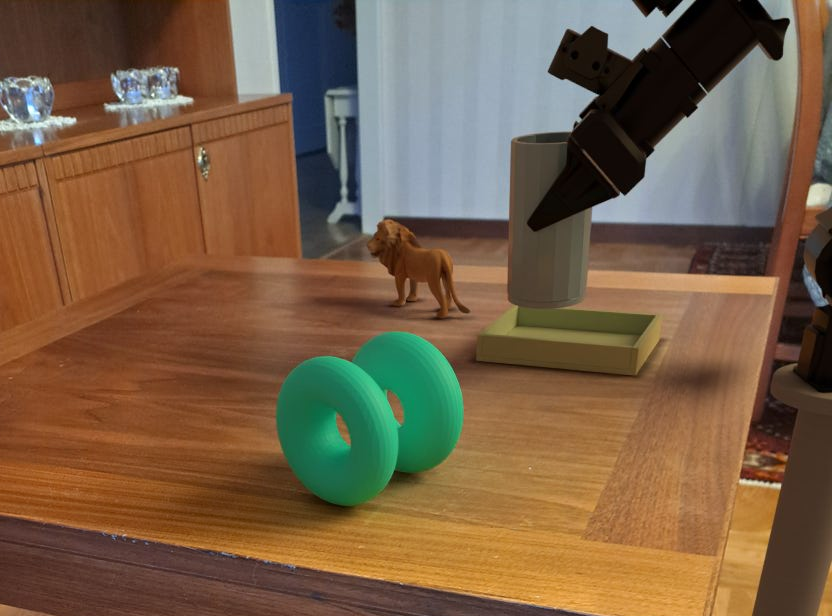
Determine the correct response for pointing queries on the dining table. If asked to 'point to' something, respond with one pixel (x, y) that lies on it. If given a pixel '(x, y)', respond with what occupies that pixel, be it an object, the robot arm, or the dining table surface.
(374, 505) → the dining table surface
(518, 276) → the cup
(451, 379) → the donuts
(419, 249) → the lion figurine
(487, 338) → the tray
